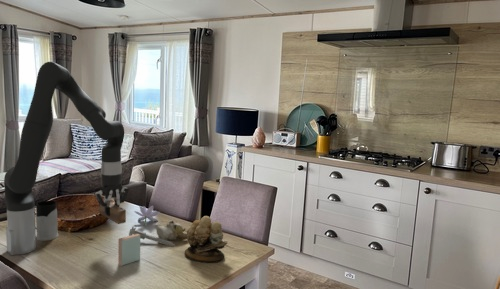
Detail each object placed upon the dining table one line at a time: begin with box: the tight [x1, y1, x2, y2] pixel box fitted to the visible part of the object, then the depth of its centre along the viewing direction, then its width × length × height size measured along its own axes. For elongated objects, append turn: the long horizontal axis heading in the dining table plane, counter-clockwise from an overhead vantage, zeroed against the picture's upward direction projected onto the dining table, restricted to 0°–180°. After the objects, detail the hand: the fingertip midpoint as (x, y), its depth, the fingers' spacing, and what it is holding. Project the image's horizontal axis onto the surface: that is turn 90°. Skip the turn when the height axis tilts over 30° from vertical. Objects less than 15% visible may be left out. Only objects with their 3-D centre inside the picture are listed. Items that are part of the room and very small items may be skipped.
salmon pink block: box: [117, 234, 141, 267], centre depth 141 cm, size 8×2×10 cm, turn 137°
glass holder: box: [35, 200, 60, 242], centre depth 160 cm, size 9×14×15 cm, turn 89°
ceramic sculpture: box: [156, 220, 187, 241], centre depth 164 cm, size 11×9×15 cm
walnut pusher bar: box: [98, 201, 127, 225], centre depth 147 cm, size 3×16×5 cm, turn 47°
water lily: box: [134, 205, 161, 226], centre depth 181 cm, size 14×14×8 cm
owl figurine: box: [183, 215, 228, 264], centre depth 149 cm, size 18×12×17 cm, turn 72°
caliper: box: [128, 226, 176, 247], centre depth 160 cm, size 21×1×6 cm, turn 81°
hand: (112, 214), depth 148 cm, fingers closed on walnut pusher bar, 3 cm apart
